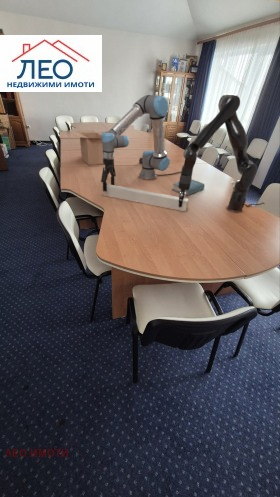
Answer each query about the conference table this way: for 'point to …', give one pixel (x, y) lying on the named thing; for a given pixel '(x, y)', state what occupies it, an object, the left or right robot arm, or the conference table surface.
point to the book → (194, 187)
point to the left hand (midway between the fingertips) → (108, 188)
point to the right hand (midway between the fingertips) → (180, 205)
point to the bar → (145, 197)
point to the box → (91, 146)
